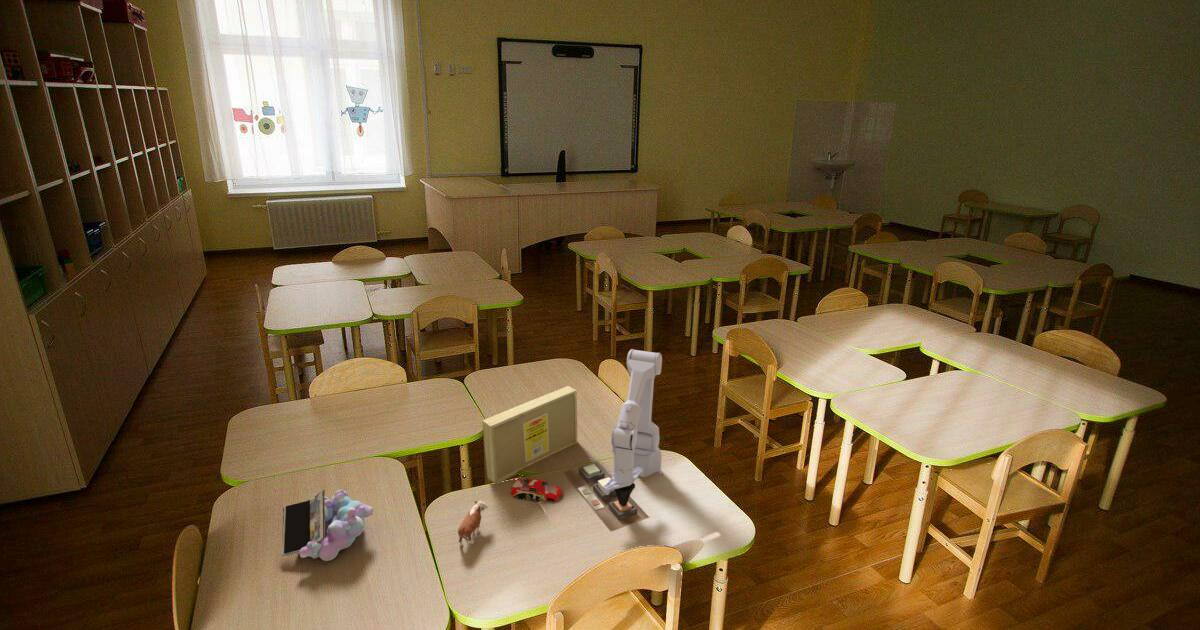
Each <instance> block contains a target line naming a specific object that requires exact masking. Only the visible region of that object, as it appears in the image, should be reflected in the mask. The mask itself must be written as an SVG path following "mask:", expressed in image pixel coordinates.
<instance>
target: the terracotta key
mask: <svg viewBox="0 0 1200 630" xmlns="http://www.w3.org/2000/svg"><path fill="white" fill-rule="evenodd" d="M614 507H615V508H616V509H617V510H618V512H619V513H621V512H624V511H627V510H630V509H632V505H631V504H630V503H629V502H628V503H627V505H626V506H624V507H623V506H622V505H620V504H619V501H616V502H614Z"/></svg>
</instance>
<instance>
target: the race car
mask: <svg viewBox="0 0 1200 630" xmlns="http://www.w3.org/2000/svg"><path fill="white" fill-rule="evenodd" d="M511 486H512V487H511V489H510V494H511V496H512V497H514V498H517V499H518V500H521V501H522V500H525V501H533V502H540V501H547V502H553V503H555V502H557V501H560V500H561V499H562V498H563V496H564V492H563V490H562V487H561V486H559V485H556V484H552V483H549V482H548V481H547V480H542V479H538V478H537V479H536V478H517V479H516V480H515V481H514V482H513V484H512V485H511Z"/></svg>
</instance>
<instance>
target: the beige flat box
mask: <svg viewBox="0 0 1200 630" xmlns="http://www.w3.org/2000/svg"><path fill="white" fill-rule="evenodd" d="M577 394H578V393H577V389H575V388H573V387H571V386H569V385H566V386H564V387H562V388H559V389H556V390H555V391H552V392H550V393H547V394H544V395H542V396H539V397H537V398H535V399H531V400H529V401H527V402H523V403H521V404H519V405H516V406H515V407H512V408H509V409H507V410H504V411H502V412H500V413H497V414H495V415H492V416H489V417H487V418H485V419H483V420H482V432H483V444H484V454H485V465H486V475H487V479H488V480H489V481H490V482H492V483H493V484H494V485H497V484H499V483H502V482H504V481H505V480H508V479H509V478H512V477H513V476H515V475H517V474H519V473H520V472H519V471H521V470H523V469H525V467H526V468H527V467H528V466H531V465H534V464H535V463H537V462H539V461H541V460H543V459H546V458H547V457H549V456H551V455H553V454H556V453H558V452H560V451H562V450H564V449H566V448H569V447H571V446H572V445H575V444H577V443H578V442H579V441H578V407H577V406H578V405H577V404H578V402H577V401H578V396H577Z"/></svg>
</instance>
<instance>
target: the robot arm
mask: <svg viewBox="0 0 1200 630" xmlns="http://www.w3.org/2000/svg"><path fill="white" fill-rule="evenodd" d="M626 356H627V357H626V367H627V373H628V374H629V375H630V379H629V385H628V386H629V387H628V391H627V399H626V401H625V402H623V403H622V404H621V407H620V411H619V415H618V419H617V424H616V427H614V428H613V429H612V433H611V440H610V441H611V442H610V444H611V445H610V446H611V447H612V452H613V472H612V473H611V476H612V478H611V479H610V480H609V482H608V483H607V484H606V485H604V486H603V493H605V494H606V495H608V494H610V491H612V490H614V491H615V492H616V495H617V498H618V501H619V504H620V505H622V506H623V507H624V506H626V505H627V503H628V500H629V497H631V494H632V493H633V491H634V490H635V488H636V484H635V482H636V480H637V479H638V477H639V478H640V477H641V478H643V477H644V478H645V477H649V476H650V475H652V474H654V473H658V474H659V475H663V472H662V471H661V470H662V452H661V449H660V448H659V445H660V428H659V426H658V425H656V424H655V423H654V422H653V421H652V414H653V413H652V411H653V399H654V384H655V383H654V382H655V377H656V376H658V375H661V373H662V365H663V357H662V356H663V355H662V354H661V352H651V351H645V350H638V349H633V348H631V349H630V350H629V351H628V353H627V355H626Z"/></svg>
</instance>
